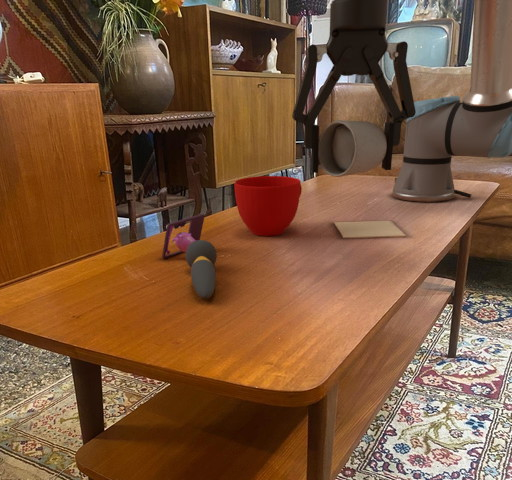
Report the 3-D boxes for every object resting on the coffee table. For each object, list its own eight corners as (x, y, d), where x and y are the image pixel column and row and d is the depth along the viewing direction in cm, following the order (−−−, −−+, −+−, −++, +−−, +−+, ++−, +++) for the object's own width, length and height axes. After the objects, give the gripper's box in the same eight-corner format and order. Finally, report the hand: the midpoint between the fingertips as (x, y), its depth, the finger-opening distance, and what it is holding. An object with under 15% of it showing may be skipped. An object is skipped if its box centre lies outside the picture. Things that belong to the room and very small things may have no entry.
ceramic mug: (389, 172, 78) (393, 117, 75) (354, 179, 74) (357, 121, 70) (335, 166, 86) (337, 116, 82) (301, 173, 81) (301, 120, 78)
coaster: (390, 222, 111) (390, 220, 110) (405, 236, 100) (405, 235, 100) (334, 223, 110) (334, 222, 110) (343, 238, 100) (343, 236, 100)
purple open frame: (200, 211, 93) (164, 221, 87) (221, 224, 91) (186, 236, 85) (193, 244, 97) (158, 256, 91) (214, 257, 95) (179, 270, 89)
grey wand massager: (233, 302, 72) (231, 267, 69) (197, 306, 71) (194, 271, 68) (213, 260, 89) (211, 232, 87) (184, 263, 88) (181, 234, 86)
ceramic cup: (323, 226, 108) (325, 176, 104) (271, 244, 97) (271, 189, 93) (276, 217, 116) (276, 171, 112) (223, 233, 105) (220, 182, 101)
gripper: (275, -4, 66) (277, 176, 76) (454, -10, 66) (432, 171, 76) (272, 4, 72) (274, 168, 82) (434, -2, 73) (417, 163, 83)
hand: (350, 170), depth 79 cm, fingers closed on ceramic mug, 10 cm apart
